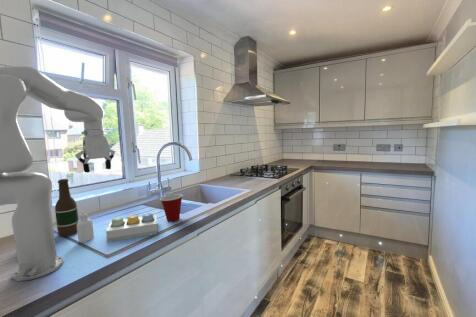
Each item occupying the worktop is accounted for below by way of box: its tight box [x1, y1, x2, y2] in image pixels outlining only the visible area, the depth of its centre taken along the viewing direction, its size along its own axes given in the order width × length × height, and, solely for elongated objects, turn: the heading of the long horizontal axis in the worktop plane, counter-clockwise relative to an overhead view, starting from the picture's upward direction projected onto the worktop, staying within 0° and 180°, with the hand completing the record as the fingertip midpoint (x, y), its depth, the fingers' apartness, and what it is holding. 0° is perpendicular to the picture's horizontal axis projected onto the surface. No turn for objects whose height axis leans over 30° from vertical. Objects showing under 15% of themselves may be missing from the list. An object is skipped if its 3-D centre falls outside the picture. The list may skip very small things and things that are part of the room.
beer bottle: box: [54, 178, 80, 238], centre depth 104 cm, size 8×8×24 cm
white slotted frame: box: [105, 214, 158, 243], centre depth 104 cm, size 12×19×4 cm, turn 110°
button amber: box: [126, 214, 139, 225], centre depth 103 cm, size 4×4×4 cm
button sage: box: [111, 216, 124, 227], centre depth 101 cm, size 4×4×4 cm
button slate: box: [141, 212, 154, 223], centre depth 105 cm, size 4×4×4 cm
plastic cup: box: [159, 193, 183, 223], centre depth 116 cm, size 11×11×12 cm
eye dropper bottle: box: [76, 210, 95, 243], centre depth 97 cm, size 4×6×12 cm
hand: (98, 170), depth 111 cm, fingers open, 9 cm apart
